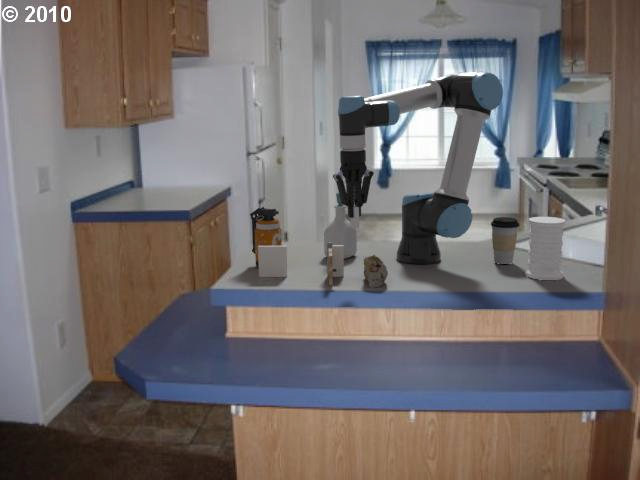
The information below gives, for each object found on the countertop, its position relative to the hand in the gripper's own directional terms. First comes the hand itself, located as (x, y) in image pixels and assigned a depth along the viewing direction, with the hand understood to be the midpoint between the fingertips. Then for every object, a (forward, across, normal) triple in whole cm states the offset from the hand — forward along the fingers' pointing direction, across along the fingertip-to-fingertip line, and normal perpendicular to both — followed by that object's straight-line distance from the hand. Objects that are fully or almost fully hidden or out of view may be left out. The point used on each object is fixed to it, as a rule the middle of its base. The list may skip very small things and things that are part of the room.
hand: (354, 227), depth 222 cm
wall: (+17, +11, -16) cm, 26 cm away
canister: (+17, +15, -34) cm, 41 cm away
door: (+17, +6, -5) cm, 18 cm away
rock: (+18, -6, +2) cm, 19 cm away
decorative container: (+19, -55, +22) cm, 63 cm away
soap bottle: (+18, -13, -33) cm, 40 cm away
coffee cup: (+19, -56, +3) cm, 59 cm away
